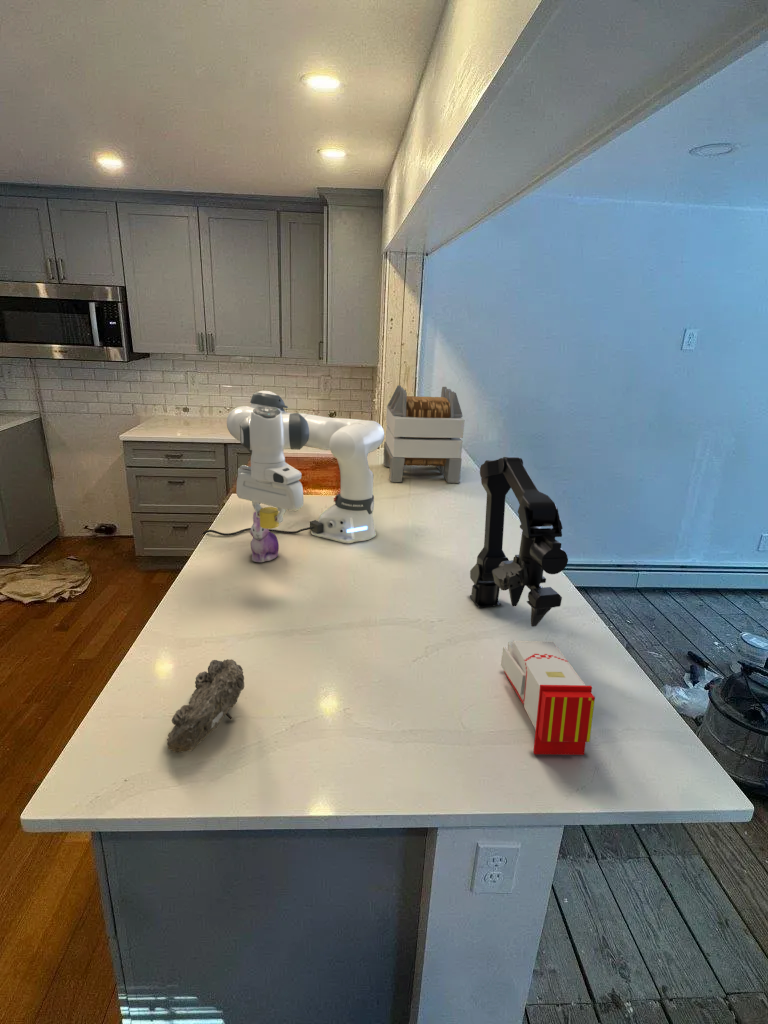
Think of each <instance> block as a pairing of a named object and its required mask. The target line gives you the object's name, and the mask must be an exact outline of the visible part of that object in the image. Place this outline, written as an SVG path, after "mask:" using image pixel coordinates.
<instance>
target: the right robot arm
mask: <svg viewBox="0 0 768 1024" xmlns="http://www.w3.org/2000/svg"><path fill="white" fill-rule="evenodd" d="M479 474H480V483H481V485H482V487H483V489H484V490H485V492H486V505H485V523H484V524H485V525H484V540H483V548H482V549H481V550H480V552H479V553H478V555H477V558H476V563H475V564H474V566H473V567H471V569H470V571H469V578H470V580H471V582H472V583H473V584H472V586H471V587H472V588H471V594H470V596H469V597H470V599H471V600H472V601H473V603H474V604H475V605H476V606H477V607H478V608H480V609H481V608H491V607H500V606H501V605H502V604H501V602H500V601H499V598H500V590H501V591H508V594H509V599H510V604H511V606H512V607H514V608H515V607H517V606H518V604H519V602H520V600H521V597H522V595H523V592H524V589H525V588H526V587H527V589H529V590H530V591H529V592H528V593H527V599H528V600H527V601H526V603H527V604H528V605H529V606H530V607H531V608H530V626H531V627H537V626H538V625H539V623H540V622H541V620H543V618H544V617H545V616H546V615H547V613H548V612H550V610H551V609H553V608H560V607H561V605H562V600H563V597H562V596H561V594H559V592H557V591H556V590H555V589H554V588H553V587H551V586H546V587H543V586H541V584H545V583H546V582H547V578H546V577H545V576H544V572H545V573H546V574H548V575H557V574H559V573H561V572H563V571H564V570H565V568H567V565H568V563H569V558H568V553H567V552H566V551H565V550H564V549H563V548H562V542H560V541H559V540H557V539H556V538H562V537H563V532H562V530H563V524H562V521H561V516H560V513H559V509H558V506H557V504H556V503H555V501H553V499H552V498H551V497H550V496H549V495H548V494H545V493H543V492H541V490H539V489H538V487H537V486H536V484H535V483H534V481H533V479H532V478H531V476H530V474H529V472H528V471H527V469H526V467H525V466H524V461H523V458H522V457H519V456H503V457H500V458H497V459H491V460H490V459H486V460H485V461H484V463H482V464H481V465H480V467H479ZM511 490H512V493H513V494H514V496H515V498H516V500H517V502H518V504H519V506H518V509H517V514H518V519H519V522H520V524H519V528H520V529H521V530H522V531H521V537H520V545H519V552H518V554H515V555H514V557H513V558H512V559H513V560H510V559H509V558H508V557H507V555H506V554H505V551H504V550H503V543H504V526H505V512H506V511H505V510H506V496H507V494H508V493H509V492H510V491H511ZM542 527H543V528H542ZM544 527H547V528H544Z"/></svg>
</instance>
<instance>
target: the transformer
mask: <svg viewBox="0 0 768 1024" xmlns="http://www.w3.org/2000/svg"><path fill="white" fill-rule="evenodd" d="M440 393H441V394H440V396H415V395H414V396H413V395H412V396H411V395H407V394H408V393H407V390H406V389H404V388H403V387H402V385H399V384H398V385H397V386H396V388H395V390H394V392H393V394H392V395H391V398H390V400H389V402H388V404H387V405H386V413H385V414H386V415H385V423H386V428H385V437H384V441H383V466H384V467H388V468H389V475H388V476H389V477H388V478H389V480H390V482H391V483H402V482H403V475H404V469H405V466H406V467H407V466H411V467H412V466H413V467H415V466H416V467H417V466H418V467H436V468H437V470H438V469H439V473H440V474H441V475H443V478H444V479H445V481H446V482H447V483H449V484H455V483H456V484H459V483H461V472H462V461H463V460H462V453H463V442H464V441H463V440H462V439H463V438H464V431H465V430H464V429H465V419H464V418H463V411H462V408H461V405H460V402H459V398H458V395H457V392H455V391H453V390H452V389H451V388H447V386H442V387H441V392H440Z"/></svg>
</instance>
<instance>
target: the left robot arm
mask: <svg viewBox="0 0 768 1024" xmlns="http://www.w3.org/2000/svg"><path fill="white" fill-rule="evenodd" d="M249 403H250V406H247V405H241V406H236V407H235V408H233V409H231V410H230V412H229V413H228V415H227V417H226V427H227V430H228V432H229V434H230V435H231V437H233V438H234V439H235V440H237V441H238V442H239V443H240V445H241V446H243V447H244V448H245V449H246V450H247V451H248V452H249V454H251V455H250V466H249V465H246V464H242V465H240V466H239V467H238V469H237V478H236V487H235V488H236V490H235V491H236V492H235V493H236V496H237V497H238V499H241V500H245V501H249V502H251V506H252V507H253V509H254V512H255V511H256V517H259V518H260V509H262V508H263V507H262V506H261V504H262V505H264V506H265V505H266V506H268V507H274V508H277V511H279V513H278V515H276V516H275V522H278V523H279V524H280V523H281V524H282V523H283V522H284V515H285V513H286V511H290V512H296V511H299V510H300V509H302V508H303V506H304V488H303V487H304V486H303V484H302V482H301V481H300V480H301V479H302V472H301V471H300V470H298V469H297V468H295V467H293V466H292V465H290V464H289V463H288V462H286V456H285V452H284V450H297V451H298V450H299V451H300V450H301V449H303V448H304V447H307V448H310V449H311V448H312V449H317V450H322V451H330V452H331V454H332V455H333V457H334V458H335V459H336V461H337V465H338V468H339V476H340V488H339V489H340V490H339V491H338V492H337V494H336V495H335V496H334V497H333V502H334V504H333V505H331V506H329V507H328V508H326V509H325V510H323V512H321V514H320V515H319V517H318V520H316V519H314V520H310V521H309V527H305V528H301V529H298V530H294V531H292V530H291V531H288V530H279V529H273V528H272V529H269V532H272V533H280V534H287V535H288V534H289V535H294V534H299V533H301V532H304V531H310V533H311V536H315V537H319V538H323V539H326V540H330V541H336V542H339V543H343V544H352V543H357V542H365V541H368V540H372V539H373V538H375V537H376V535H377V532H376V528H375V523H374V513H373V512H374V509H375V496H374V473H373V471H372V470H371V469H370V466H369V460H368V456H369V454H371V453H372V452H375V451H376V450H377V449H379V448H380V446H382V444H383V443H384V441H385V430H384V428H383V426H382V425H381V424H380V423H379V422H378V421H375V420H367V419H356V418H341V417H328V416H323V415H316V414H310V413H301V412H287V411H285V409H289V407H288V405H286V404H285V402H284V399H283V398H282V397H281V396H280V395H278V394H277V393H275V392H273V391H271V390H270V391H269V390H259V391H255V392H254V393H253V394H252V396H251V398H250V402H249ZM250 529H251V527H247V528H244V529H240V530H238V531H234V532H226V533H225V532H221V531H218V530H213V529H207V530H205V531H203V532H202V533H201V535H206V534H207V533H213V534H217V535H220V536H223V537H225V536H227V537H229V536H235V535H238V534H241V533H244V532H247V531H250Z"/></svg>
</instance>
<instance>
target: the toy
mask: <svg viewBox="0 0 768 1024" xmlns="http://www.w3.org/2000/svg"><path fill="white" fill-rule="evenodd" d="M500 666H501V668H502V669H503V672H504V674H505V676H506V678H507V679H508V681H509V683H510V685H511V686H512V688H513V690H514V691H515V693H516V695H517V697H518V698H519V701H520V702H521V703H522V705H523V707H524V710H525V712H526V714H527V716H528V718H529V720H530V722H531V724H532V725H533V728H534V730H535V731H534V743H533V755H566V756H567V755H569V756H570V755H571V756H572V755H573V756H584V755H585V752H586V751H585V750H586V743H590V741H591V734H592V732H591V731H592V725H593V716H594V710H595V709H594V708H595V699H596V697H595V696H594V694H593V693H592V692H593V687H592V685H587V684H585V681H583V679H581V677H580V676H579V674H578V673H577V672H576V670H575V669H574V667H573V666H572V664H570V662H569V660H568V659H567V658H566V656H564V654H563V653H562V651H561V650H560V648H559V646H557V645H556V643H555V642H554V641H545V640H544V641H543V640H542V641H540V640H537V641H536V640H512V641H509V642H507V647H506V646H503V647H502V653H501V660H500Z"/></svg>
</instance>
